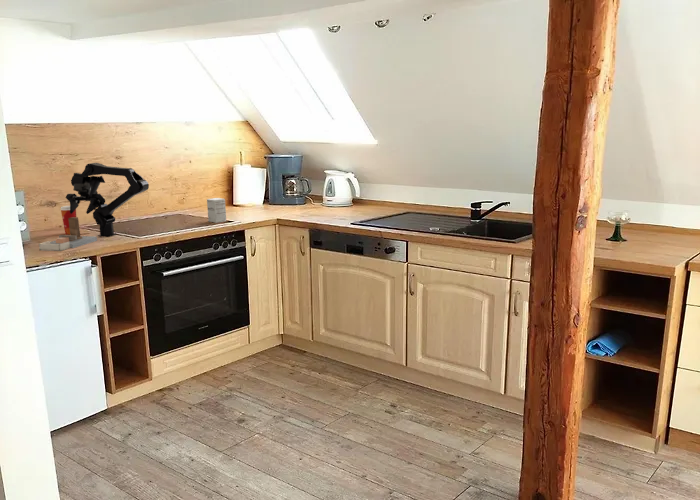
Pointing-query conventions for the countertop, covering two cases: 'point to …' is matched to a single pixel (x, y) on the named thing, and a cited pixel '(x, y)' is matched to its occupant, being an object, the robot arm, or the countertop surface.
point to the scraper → (73, 229)
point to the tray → (53, 246)
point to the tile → (62, 240)
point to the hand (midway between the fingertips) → (78, 213)
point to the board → (79, 241)
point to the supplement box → (216, 210)
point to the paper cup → (65, 215)
